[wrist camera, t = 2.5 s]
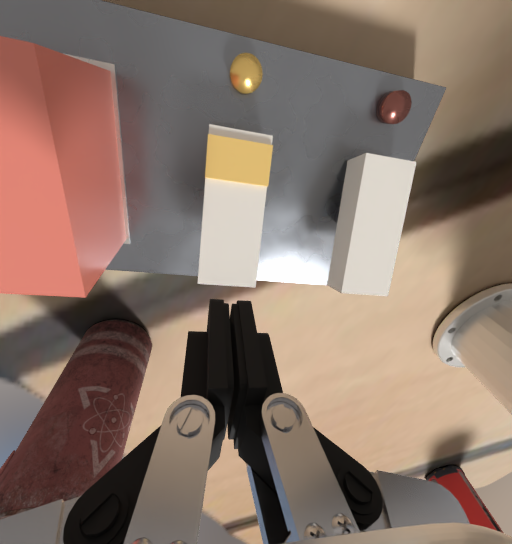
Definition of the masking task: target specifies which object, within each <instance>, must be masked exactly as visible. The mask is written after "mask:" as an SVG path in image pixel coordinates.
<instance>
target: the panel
mask: <svg viewBox="0 0 512 544" xmlns="http://www.w3.org/2000/svg"><path fill="white" fill-rule="evenodd" d="M0 36H3V37H8V38H12V39H17V40H22V41H26V42H31V43H35V44H38V45H40V46H43V47H46V48H49V49H51V50H54V51H57V52H60V53H62V54H65V55H68V56H71V57H73V58H76V59H79V60H82V61H84V62H87V63H90V64H93V65H95V66H98V67H101V68H103V69H106V70H109V71H110V72H111V83H112V94H113V104H114V115H115V126H116V137H117V147H118V158H119V169H120V179H121V190H122V201H123V212H124V222H125V233H126V241H125V242H124V243H123V245H122V246H121V248H120V249H119V251H118V252H117V253H116V255H115V256H114V258H113V259H112V261H111V262H110V263H109V265H108V266H107V268H106V270H120V271H134V272H148V273H162V274H176V275H191V276H198V272H199V258H200V245H201V231H202V217H203V204H204V190H205V169H206V156H207V142H208V134H209V124H211V125H217V126H222V127H228V128H233V129H239V130H244V131H250V132H255V133H261V134H266V135H272V136H273V140H272V145H273V150H272V159H271V167H270V176H269V185H268V187H267V192H266V200H265V209H264V218H263V227H262V235H261V244H260V253H259V261H258V270H257V279H256V280H261V281H275V282H289V283H303V284H317V285H327V281H328V275H329V269H330V263H331V257H332V251H333V245H334V239H335V233H336V227H337V221H338V215H339V209H340V203H341V197H342V191H343V185H344V179H345V173H346V167H347V161H348V160H350V159H352V158H355V157H357V156H360V155H362V154H365V153H370V154H376V155H381V156H387V157H392V158H398V159H403V160H409V161H414V160H415V158H416V155H417V153H418V151H419V149H420V146H421V144H422V142H423V140H424V137H425V135H426V133H427V131H428V128H429V126H430V124H431V121H432V119H433V117H434V115H435V112H436V110H437V108H438V106H439V103H440V101H441V99H442V97H443V94H444V92H445V90H446V87H442V86H438V85H434V84H430V83H426V82H422V81H418V80H414V79H410V78H406V77H402V76H398V75H394V74H390V73H386V72H383V71H379V70H375V69H371V68H367V67H363V66H359V65H355V64H351V63H347V62H343V61H339V60H335V59H331V58H327V57H323V56H319V55H315V54H311V53H307V52H303V51H299V50H295V49H291V48H288V47H284V46H280V45H276V44H272V43H268V42H264V41H260V40H256V39H252V38H248V37H244V36H240V35H236V34H232V33H228V32H224V31H220V30H216V29H212V28H208V27H204V26H200V25H196V24H193V23H189V22H185V21H181V20H177V19H173V18H169V17H165V16H161V15H157V14H153V13H149V12H145V11H141V10H137V9H133V8H129V7H125V6H121V5H117V4H113V3H109V2H105V1H101V0H0Z"/></svg>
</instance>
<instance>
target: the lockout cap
mask: <svg viewBox="0 0 512 544" xmlns="http://www.w3.org/2000/svg"><path fill="white" fill-rule="evenodd" d="M125 241H126V233H125V222H124V212H123V201H122V190H121V179H120V169H119V158H118V147H117V137H116V126H115V115H114V104H113V94H112V83H111V72H110V71H109V70H106V69H103V68H101V67H98V66H95V65H93V64H90V63H87V62H84V61H82V60H79V59H76V58H73V57H71V56H68V55H65V54H62V53H60V52H57V51H54V50H51V49H49V48H46V47H43V46H40V45H38V44H35V43H31V42H26V41H22V40H17V39H12V38H8V37H3V36H0V293H6V294H26V295H45V296H65V297H84V298H86V296H87V295H88V293H89V292H90V291H91V289H92V288H93V286H94V285H95V283H96V282H97V281H98V279H99V278H100V276H101V275H102V273H103V272H104V271H105V269H106V268H107V266H108V265H109V263H110V262H111V261H112V259H113V258H114V256H115V255H116V253H117V252H118V251H119V249H120V248H121V246H122V245H123V243H124V242H125Z"/></svg>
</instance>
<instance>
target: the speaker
mask: <svg viewBox="0 0 512 544" xmlns="http://www.w3.org/2000/svg"><path fill="white" fill-rule="evenodd" d="M426 480H427V481H432V482H435V483H438V484H440V485H442V486H443V487H445V488H446V489H447V490H449V491H450V492H451V493H452V494H453V495H454V497H455V498H456V499H457V500H458V501H459V503H460V505H461V506H462V508H463V510H464V512H465V514H466V516H467V518H468V521H469V523H470V524H473V525H478V526H483V527H487V528H490V529H493V530H496V531H499V532H502V530H501V528H500V527H499V525H498V524H497V522H496V521H495V520H494V518H493V517H492V515H491V514H490V512H489V511H488V509H487V508H486V506H485V505H484V503H483V502H482V500H481V499H480V497H479V496H478V494H477V493H476V491H475V490H474V488H473V487H472V485H471V484H470V482H469V481H468V479H467V478H466V476H465V474H464V472H463V470H462V469H461V468H460V467H457V466H454V465H449V466H447V467H443V468H438V469H436V470H434V471H433V472H432V473H431V474H428V475H427V478H426ZM502 533H503V532H502Z"/></svg>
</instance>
